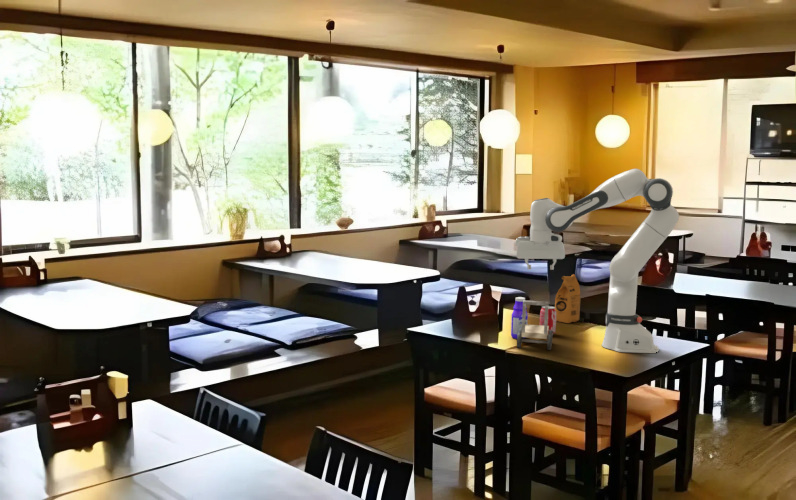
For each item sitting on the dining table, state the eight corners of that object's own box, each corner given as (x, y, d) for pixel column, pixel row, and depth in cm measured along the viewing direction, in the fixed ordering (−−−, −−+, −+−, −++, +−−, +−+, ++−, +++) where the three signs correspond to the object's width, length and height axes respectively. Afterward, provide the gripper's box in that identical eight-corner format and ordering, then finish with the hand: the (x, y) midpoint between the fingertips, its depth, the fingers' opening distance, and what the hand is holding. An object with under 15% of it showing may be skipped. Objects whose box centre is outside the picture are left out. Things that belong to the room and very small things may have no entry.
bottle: (518, 340, 333) (520, 299, 331) (508, 337, 337) (509, 297, 335) (529, 337, 338) (531, 297, 336) (518, 335, 342) (520, 295, 340)
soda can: (554, 332, 350) (555, 305, 349) (556, 336, 343) (557, 308, 342) (538, 331, 351) (539, 305, 349) (539, 335, 344) (541, 308, 343)
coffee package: (550, 320, 376) (552, 275, 374) (564, 317, 385) (566, 273, 383) (568, 324, 370) (570, 277, 367) (582, 320, 379) (584, 275, 376)
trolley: (552, 342, 330) (554, 296, 328) (550, 351, 314) (552, 302, 312) (519, 340, 333) (521, 294, 331) (516, 348, 317) (518, 300, 315)
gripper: (515, 237, 331) (515, 269, 333) (564, 237, 327) (564, 270, 328) (516, 236, 337) (516, 268, 339) (565, 236, 333) (565, 268, 334)
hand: (540, 269), depth 333 cm, fingers open, 8 cm apart
